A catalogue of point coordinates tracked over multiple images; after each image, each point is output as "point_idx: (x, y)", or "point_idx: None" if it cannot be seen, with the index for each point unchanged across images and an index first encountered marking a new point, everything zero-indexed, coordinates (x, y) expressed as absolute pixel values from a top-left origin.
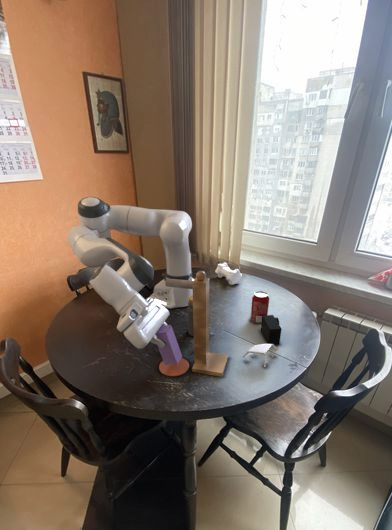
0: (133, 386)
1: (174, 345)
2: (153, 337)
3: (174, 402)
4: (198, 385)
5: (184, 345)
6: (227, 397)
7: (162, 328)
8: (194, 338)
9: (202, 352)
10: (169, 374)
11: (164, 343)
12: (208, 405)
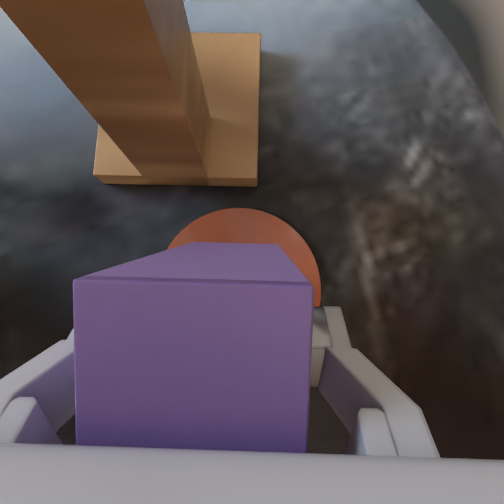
0: (450, 452)
1: (227, 252)
2: (437, 453)
3: (484, 206)
4: (345, 134)
5: (29, 291)
6: (382, 10)
7: (164, 401)
8: (166, 59)
9: (196, 85)
10: (314, 288)
11: (322, 311)
12: (451, 68)
